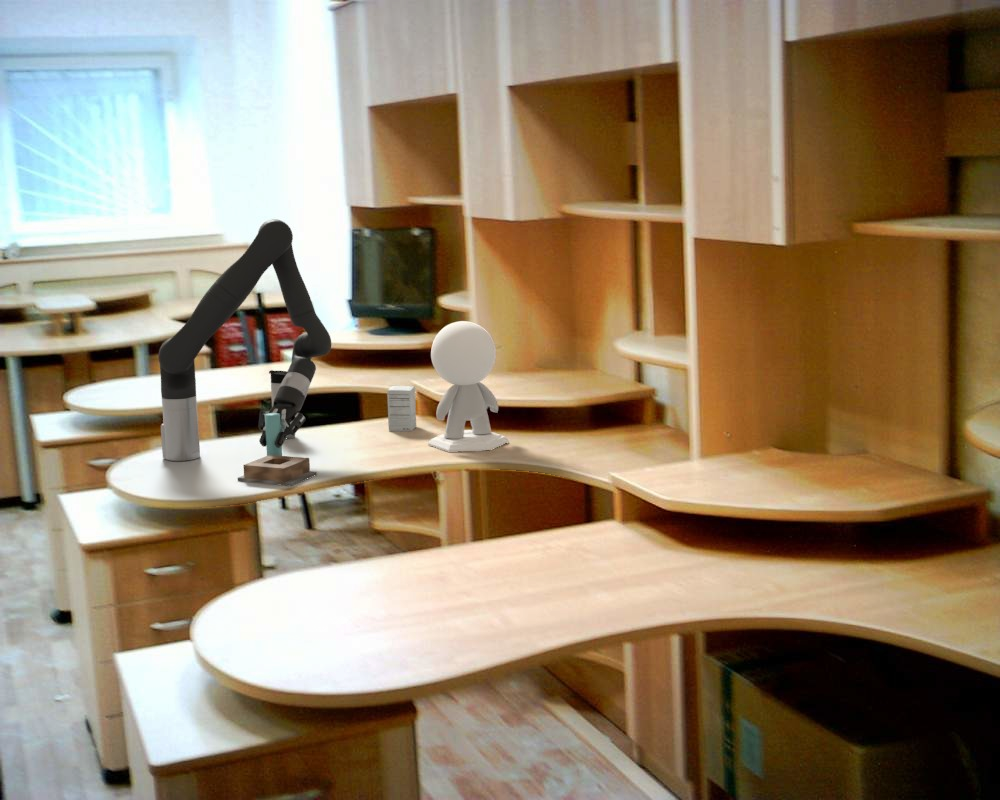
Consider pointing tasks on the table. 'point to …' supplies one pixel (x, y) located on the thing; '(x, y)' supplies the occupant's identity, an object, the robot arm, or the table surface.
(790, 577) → the table surface
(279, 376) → the travel mug
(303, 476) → the socket
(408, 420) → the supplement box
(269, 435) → the peg
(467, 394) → the white toy figurine
